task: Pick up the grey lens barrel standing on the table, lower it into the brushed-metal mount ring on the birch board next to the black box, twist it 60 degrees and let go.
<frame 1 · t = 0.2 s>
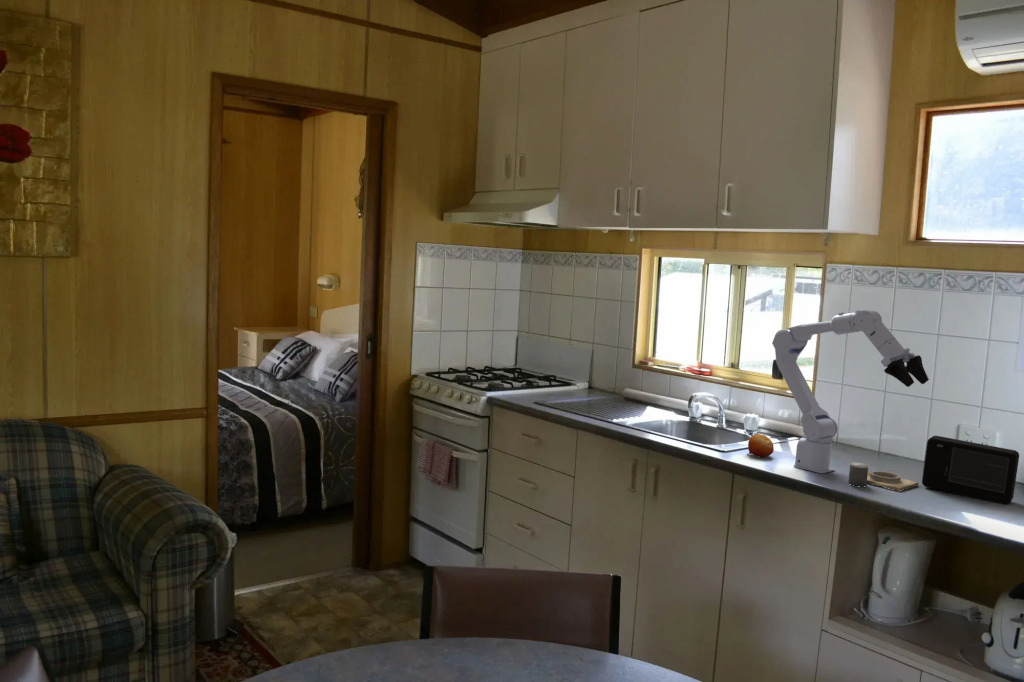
hand: (918, 383, 232), 31 cm above the countertop, tool tilted 45°, fingers open, 7 cm apart
fruit: (759, 457, 269), on the countertop
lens: (857, 485, 240), on the countertop
black box: (967, 495, 237), on the countertop
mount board: (884, 482, 244), on the countertop
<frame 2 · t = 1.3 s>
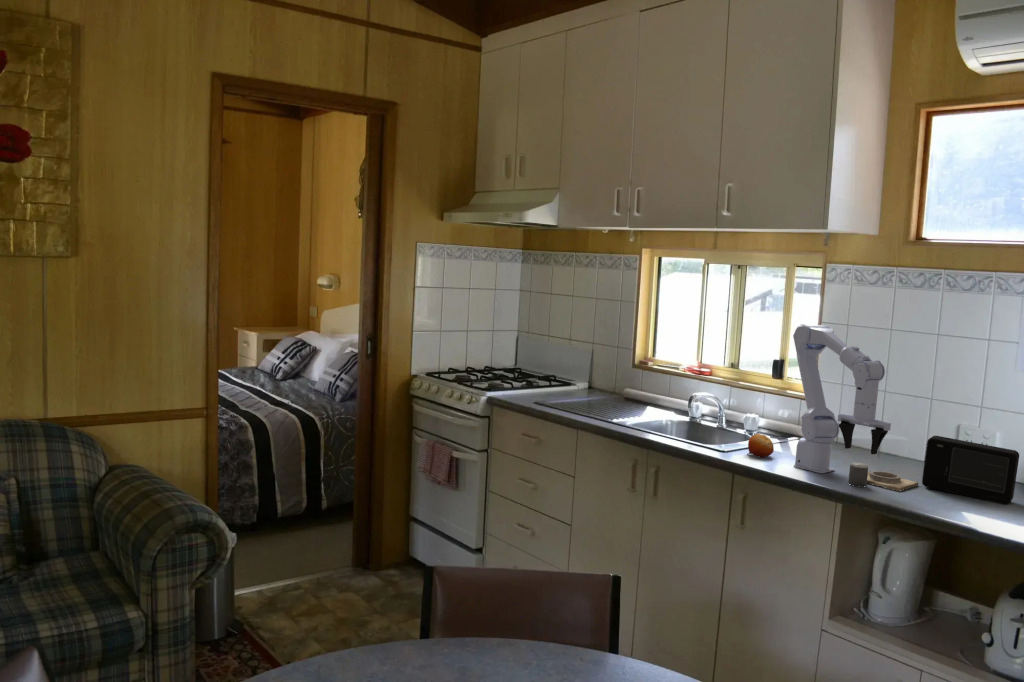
hand: (860, 450, 239), 10 cm above the countertop, tool pointing down, fingers open, 7 cm apart
nothing on the countertop moved.
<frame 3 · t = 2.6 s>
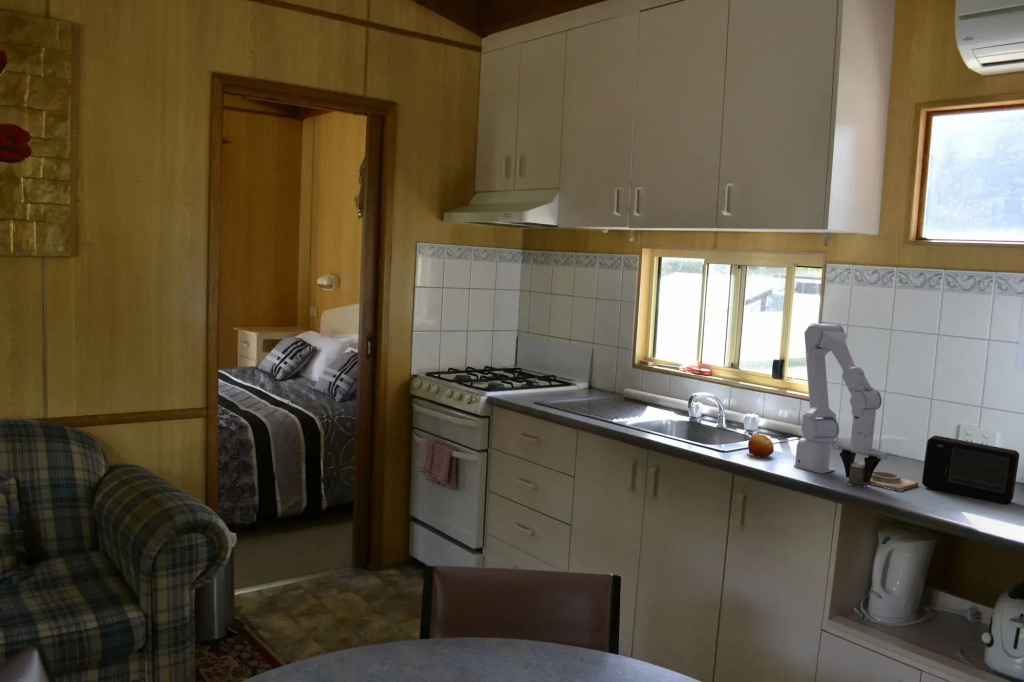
hand: (857, 479, 240), 2 cm above the countertop, tool pointing down, fingers closed on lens, 5 cm apart
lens: (857, 484, 240), on the countertop, touching gripper
everything else where it was.
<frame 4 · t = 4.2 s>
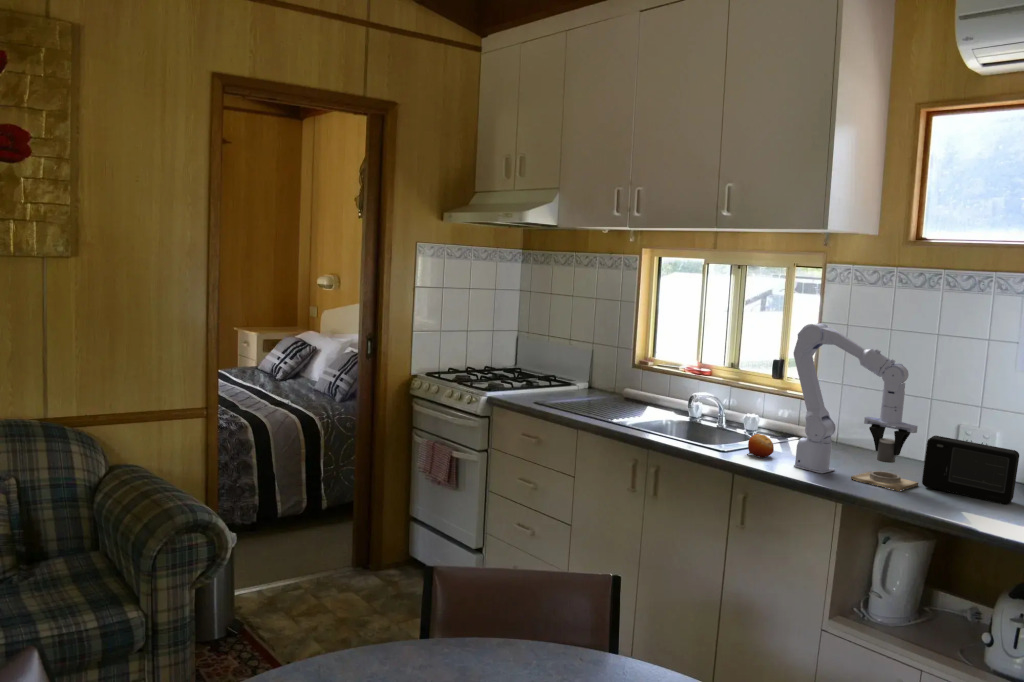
hand: (887, 452, 243), 9 cm above the countertop, tool pointing down, fingers closed on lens, 5 cm apart
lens: (886, 460, 243), point 7 cm above the countertop, touching gripper
everything else where it was.
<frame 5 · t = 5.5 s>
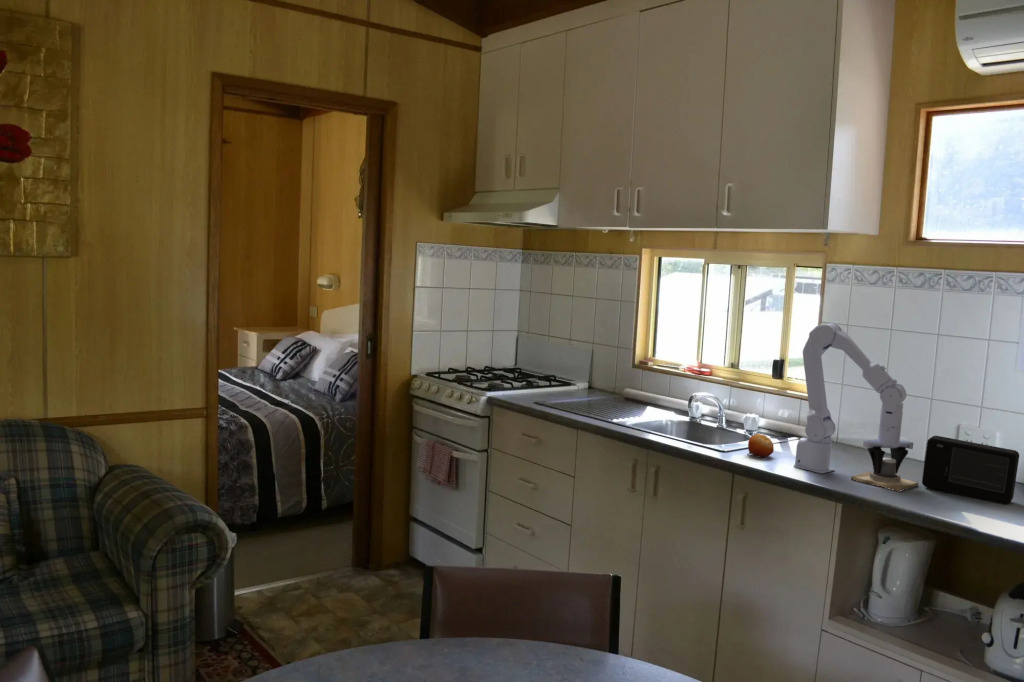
hand: (885, 472, 244), 3 cm above the countertop, tool pointing down, fingers closed on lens, 5 cm apart
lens: (885, 479, 244), point 1 cm above the countertop, touching gripper
everything else where it was.
when the fingers open (3 cm above the countertop, at t = 5.9 s): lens stays where it is, resting on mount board.
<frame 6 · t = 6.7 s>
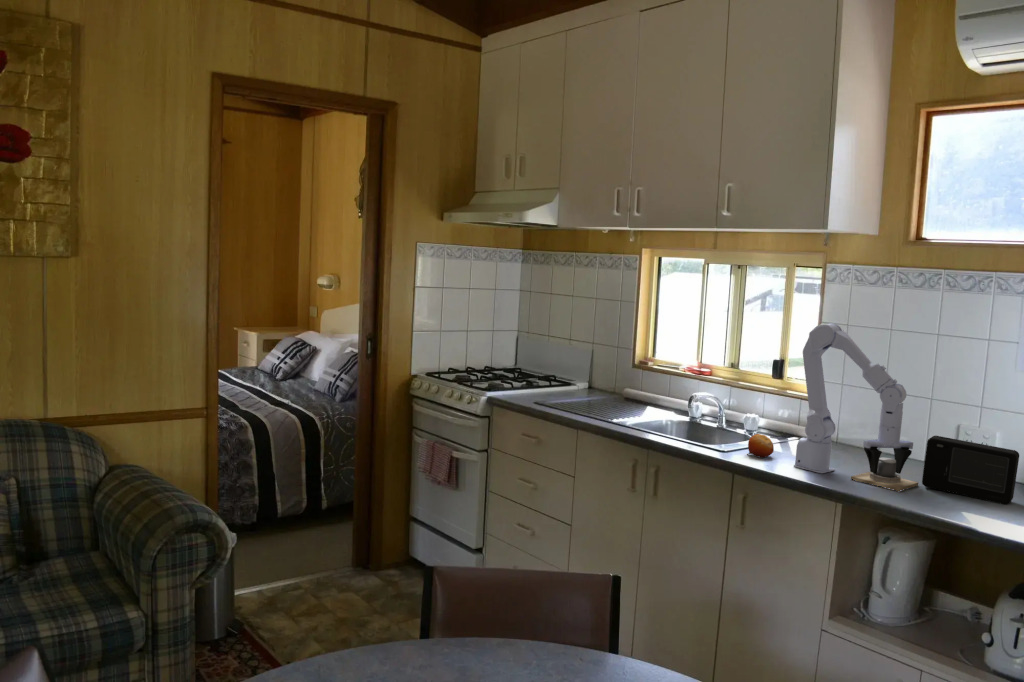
hand: (885, 472, 244), 3 cm above the countertop, tool pointing down, fingers open, 7 cm apart
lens: (885, 479, 244), point 1 cm above the countertop, touching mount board
everything else where it was.
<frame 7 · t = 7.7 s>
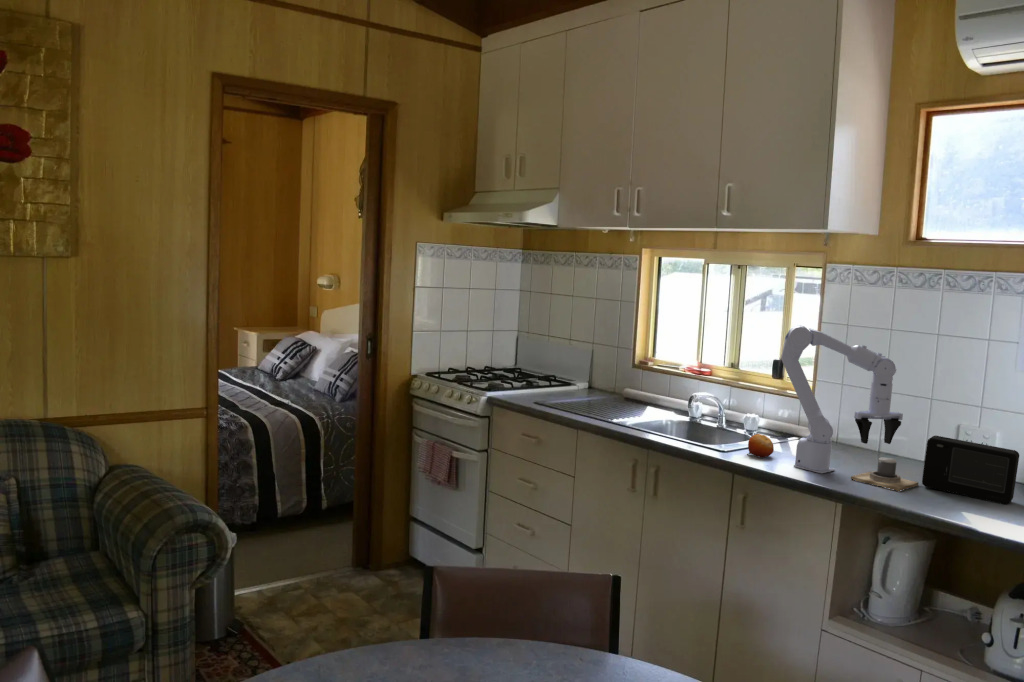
hand: (875, 443, 251), 10 cm above the countertop, tool pointing down, fingers open, 7 cm apart
nothing on the countertop moved.
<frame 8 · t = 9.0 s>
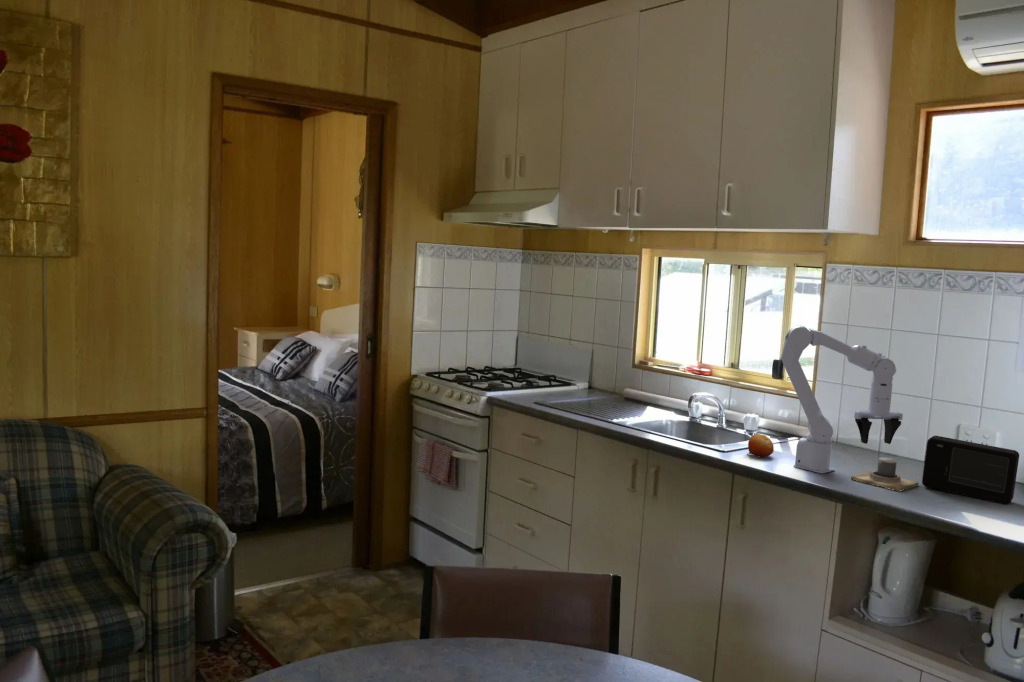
hand: (875, 443, 251), 10 cm above the countertop, tool pointing down, fingers open, 7 cm apart
nothing on the countertop moved.
at the end: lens 0.4 cm off-centre on the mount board, point 1.0 cm above the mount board's base; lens tilted 0°; the gripper is holding nothing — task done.
